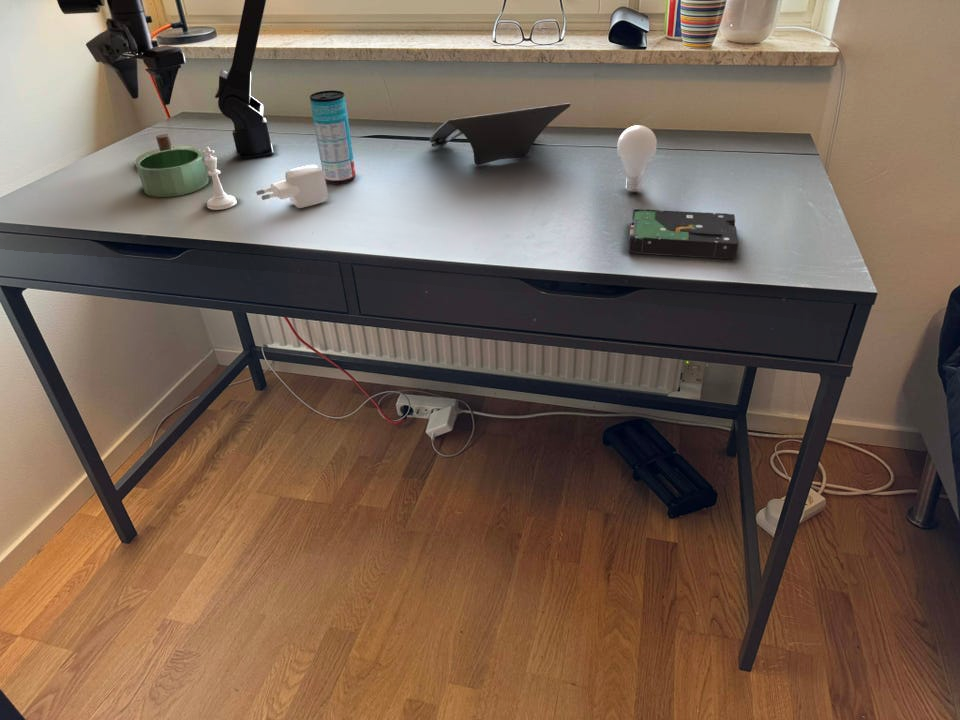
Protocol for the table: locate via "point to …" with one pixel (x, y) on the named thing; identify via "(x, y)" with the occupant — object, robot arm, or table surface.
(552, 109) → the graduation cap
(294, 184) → the power adapter
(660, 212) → the disk drive
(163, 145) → the tin lid
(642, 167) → the lightbulb
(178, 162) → the tin
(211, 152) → the chess piece
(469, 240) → the table surface
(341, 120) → the beverage can
